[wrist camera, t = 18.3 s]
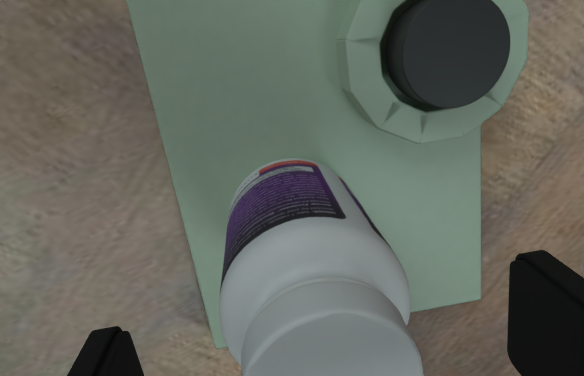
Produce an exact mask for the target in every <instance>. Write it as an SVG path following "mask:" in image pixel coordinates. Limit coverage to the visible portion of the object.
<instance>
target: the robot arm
mask: <svg viewBox="0 0 584 376" xmlns="http://www.w3.org/2000/svg"><path fill="white" fill-rule="evenodd" d="M507 350H508V355H509V358H510V360H511V362H512V364H513V365H514V367H515V368H516V369H517V371H518V372H519V373H520V374H521V376H584V278H583V277H581V276H580V275H578V274H577V273H576V272H574V271H573V270H571V269H570V268H569V267H567V266H566V265H565V264H563V263H562V262H560V261H559V260H558V259H556V258H555V257H553V256H552V255H551V254H549V253H548V252H546V251H544V250H539V251H533V252H527V253H522V254H519V255H517V257H516V259H515V261H513V262H511V264H510V278H509V311H508V344H507ZM67 376H144V374H143V371H142V368H141V365H140V362H139V359H138V356H137V353H136V350H135V347H134V344H133V341H132V338H131V335H130V333H129V332H128V331H122V329H121V328H120V327H118V326H115V327H109V328H104V329H98V330H94V331H92V332H91V333H90V335H89V337H88V338H87V340H86V342H85V344H84V346H83V348H82V349H81V351H80V353H79V355H78V357H77V359H76V360H75V362H74V364H73V366H72V368H71V370H70V371H69V373H68V375H67Z"/></svg>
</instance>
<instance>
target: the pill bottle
mask: <svg viewBox="0 0 584 376" xmlns="http://www.w3.org/2000/svg"><path fill="white" fill-rule="evenodd" d="M410 307H411V297H410V288H409V283H408V280H407V276H406V274H405V271H404V269H403V267H402V265H401V263H400V261H399V259H398V258H397V256H396V255H395V253H394V251H393V250H392V248H391V247H390V245H389V244H388V243H387V241H386V240H385V238H384V237H383V236H382V234H381V233H380V231H379V230H378V228H377V227H376V225H375V224H374V222H373V221H372V220H371V218H370V217H369V215H368V214H367V213H366V211H365V210H364V208H363V207H362V205H361V204H360V203H359V201H358V200H357V198H356V197H355V195H354V194H353V192H352V191H351V190H350V188H349V187H348V185H347V184H346V183H345V182H344V181H343V180H342V179H341V178H340V177H339V176H338V175H337V174H336V173H335V172H334V171H333V170H331V169H330V168H328V167H326V166H325V165H323V164H320V163H318V162H315V161H312V160H307V159H301V158H287V159H280V160H276V161H273V162H270V163H267V164H265V165H263V166H261V167H259V168H258V169H256V170H255V171H253V172H252V173H251V174H250V175H249V176H248V177H247V178H246V179H245V180H244V181H243V182H242V183H241V185H240V186H239V187H238V189H237V191H236V192H235V194H234V197H233V199H232V202H231V205H230V209H229V214H228V221H227V233H226V243H225V253H224V262H223V271H222V279H221V287H220V301H219V320H220V326H221V331H222V335H223V338H224V340H225V343H226V345H227V347H228V349H229V351H230V353H231V355H232V356H233V357H234V358H235V360H236V361H237V362H238V364H239V365H240V366H241V367H242V376H423V366H422V361H421V356H420V353H419V351H418V349H417V346H416V344H415V342H414V340H413V338H412V336H411V334H410V332H409V330H408V328H407V325H408V321H409V316H410Z"/></svg>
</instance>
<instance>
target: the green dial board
mask: <svg viewBox="0 0 584 376" xmlns="http://www.w3.org/2000/svg"><path fill="white" fill-rule="evenodd" d="M126 1H127V5H128V9H129V13H130V17H131V21H132V25H133V29H134V33H135V36H136V40H137V44H138V48H139V52H140V56H141V60H142V64H143V68H144V72H145V75H146V79H147V83H148V87H149V91H150V95H151V99H152V103H153V107H154V111H155V114H156V118H157V122H158V126H159V130H160V134H161V138H162V142H163V146H164V150H165V153H166V157H167V161H168V165H169V169H170V173H171V177H172V181H173V185H174V189H175V192H176V196H177V200H178V204H179V208H180V212H181V216H182V220H183V224H184V228H185V232H186V235H187V239H188V243H189V247H190V251H191V255H192V259H193V263H194V267H195V271H196V274H197V278H198V282H199V286H200V290H201V294H202V298H203V302H204V306H205V310H206V313H207V317H208V321H209V325H210V329H211V333H212V337H213V341H214V345H215V348H216V349H220V348H225V347H227V345H226V343H225V340H224V338H223V335H222V331H221V326H220V320H219V301H220V287H221V279H222V271H223V262H224V253H225V243H226V233H227V221H228V214H229V209H230V205H231V202H232V199H233V197H234V194H235V192H236V191H237V189H238V187H239V186H240V185H241V183H242V182H243V181H244V180H245V179H246V178H247V177H248V176H249V175H250V174H251V173H252V172H253V171H255V170H256V169H258V168H259V167H261V166H263V165H265V164H267V163H270V162H273V161H276V160H280V159H287V158H301V159H307V160H312V161H315V162H318V163H320V164H323V165H325V166H326V167H328V168H330V169H331V170H333V171H334V172H335V173H336V174H337V175H338V176H339V177H340V178H341V179H342V180H343V181H344V182H345V183H346V184H347V185H348V187H349V188H350V190H351V191H352V192H353V194H354V195H355V197H356V198H357V200H358V201H359V203H360V204H361V205H362V207H363V208H364V210H365V211H366V213H367V214H368V215H369V217H370V218H371V220H372V221H373V222H374V224H375V225H376V227H377V228H378V230H379V231H380V233H381V234H382V236H383V237H384V238H385V240H386V241H387V243H388V244H389V245H390V247H391V248H392V250H393V251H394V253H395V255H396V256H397V258H398V259H399V261H400V263H401V265H402V267H403V269H404V271H405V274H406V276H407V280H408V283H409V288H410V297H411V307H410V313H411V312H416V311H422V310H427V309H432V308H438V307H443V306H448V305H454V304H459V303H464V302H470V301H475V300H480V299H481V124H482V123H483V122H484V121H485V120H487V119H488V118H489V117H491V116H492V115H493V114H495V113H496V112H497V111H499V110H500V109H501V108H502V106H503V105H504V104H505V102H506V100H507V98H508V96H509V94H510V92H511V91H512V89H513V87H514V85H515V83H516V81H517V79H518V77H519V75H520V73H521V71H522V70H523V68H524V66H525V62H527V48H528V17H529V11H528V8H527V6H526V4H525V3H524V1H523V0H492V1H493V2H494V3H495V4H496V5H497V6H498V7H499V8H500V10H501V11H502V13H503V14H504V16H505V18H506V20H507V23H508V27H509V31H510V53H509V58H508V61H507V64H506V67H505V69H504V71H503V73H502V75H501V77H500V78H499V80H498V81H497V83H496V84H495V85H494V87H493V88H492V89H491V90H490V91H489V92H488V93H486V94H485V95H484V96H483V97H481V98H480V99H478V100H477V101H475V102H473V103H471V104H469V105H466V106H463V107H458V108H439V107H435V106H432V105H429V104H426V103H423V102H420V101H417V100H414V99H412V98H410V97H408V96H406V95H405V94H404V93H402V92H401V91H400V90H399V89H398V88H397V87H396V85H395V84H394V83H393V81H392V79H391V77H390V75H389V73H388V69H387V65H386V45H387V40H388V37H389V34H390V31H391V29H392V27H393V25H394V24H395V22H396V21H397V19H398V18H399V17H400V15H401V14H402V13H403V12H404V11H405V10H406V9H407V8H408V7H410V6H411V5H413V4H414V3H416V2H418V1H420V0H126Z"/></svg>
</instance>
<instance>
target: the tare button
mask: <svg viewBox="0 0 584 376" xmlns="http://www.w3.org/2000/svg"><path fill="white" fill-rule="evenodd" d="M509 53H510V31H509V27H508V23H507V20H506V18H505V16H504V14H503V13H502V11H501V10H500V8H499V7H498V6H497V5H496V4H495V3H494V2H493V1H492V0H420V1H418V2H416V3H414V4H413V5H411V6H410V7H408V8H407V9H406V10H405V11H404V12H403V13H402V14H401V15H400V17H399V18H398V19H397V21H396V22H395V24H394V25H393V27H392V29H391V31H390V34H389V37H388V40H387V45H386V65H387V69H388V73H389V75H390V77H391V79H392V81H393V83H394V84H395V85H396V87H397V88H398V89H399V90H400V91H401V92H402V93H404V94H405V95H406V96H408V97H410V98H412V99H414V100H417V101H420V102H423V103H426V104H429V105H432V106H435V107H439V108H458V107H463V106H466V105H469V104H471V103H473V102H475V101H477V100H478V99H480V98H481V97H483V96H484V95H485V94H486V93H488V92H489V91H490V90H491V89H492V88H493V87H494V85H495V84H496V83H497V81H498V80H499V78H500V77H501V75H502V73H503V71H504V69H505V67H506V64H507V61H508V58H509Z"/></svg>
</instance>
